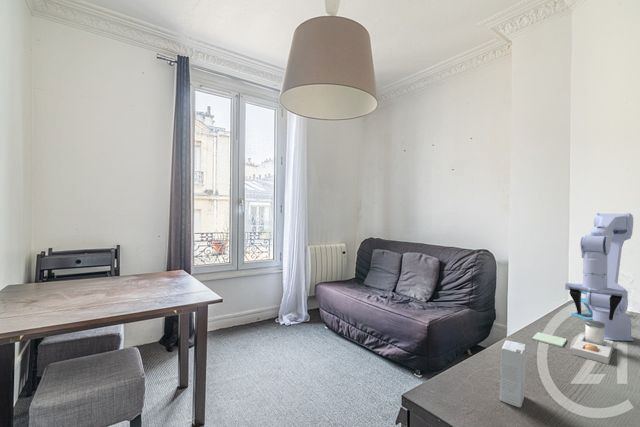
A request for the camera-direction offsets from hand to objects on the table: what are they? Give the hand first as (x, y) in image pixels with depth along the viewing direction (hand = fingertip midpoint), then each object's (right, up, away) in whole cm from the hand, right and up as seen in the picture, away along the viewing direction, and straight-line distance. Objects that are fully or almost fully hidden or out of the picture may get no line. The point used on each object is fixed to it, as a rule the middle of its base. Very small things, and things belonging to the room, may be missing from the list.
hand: (594, 316), depth 96 cm
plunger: (-6, -9, -5) cm, 12 cm away
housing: (-3, -10, -2) cm, 11 cm away
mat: (-10, -10, +6) cm, 15 cm away
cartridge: (0, -10, 0) cm, 10 cm away
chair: (+23, -10, +29) cm, 38 cm away
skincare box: (-43, -10, -27) cm, 52 cm away
